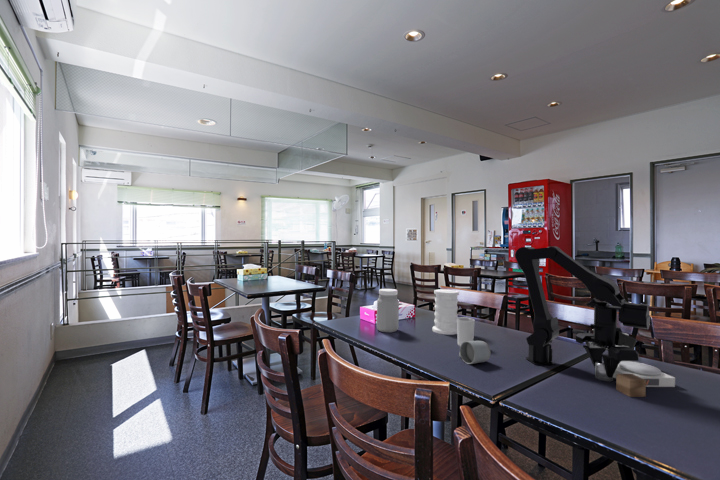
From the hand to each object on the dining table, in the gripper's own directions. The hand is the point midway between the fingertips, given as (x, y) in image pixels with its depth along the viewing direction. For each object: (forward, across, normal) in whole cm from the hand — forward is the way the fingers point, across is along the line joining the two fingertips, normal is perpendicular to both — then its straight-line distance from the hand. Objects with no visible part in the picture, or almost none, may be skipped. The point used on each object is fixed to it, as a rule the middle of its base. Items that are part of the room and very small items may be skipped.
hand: (603, 374), depth 107 cm
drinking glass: (+1, +33, +31) cm, 45 cm away
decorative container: (+1, +53, +33) cm, 63 cm away
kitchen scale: (+1, 0, -10) cm, 10 cm away
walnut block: (+1, -10, 0) cm, 10 cm away
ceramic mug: (+2, +15, +35) cm, 38 cm away
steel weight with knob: (+1, 0, 0) cm, 1 cm away
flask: (+2, +14, -17) cm, 22 cm away
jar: (+1, +54, +59) cm, 80 cm away
